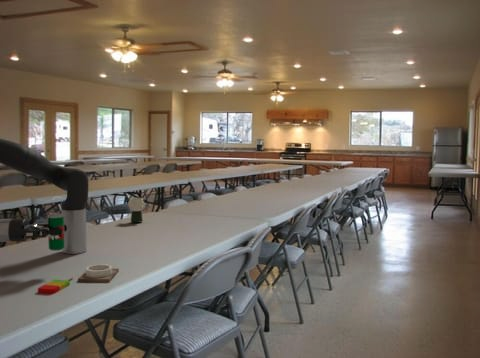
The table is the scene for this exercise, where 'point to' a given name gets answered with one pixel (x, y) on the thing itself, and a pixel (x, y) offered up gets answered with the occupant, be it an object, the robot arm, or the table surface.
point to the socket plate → (98, 273)
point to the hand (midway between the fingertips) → (64, 229)
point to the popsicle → (54, 286)
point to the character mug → (136, 209)
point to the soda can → (56, 240)
